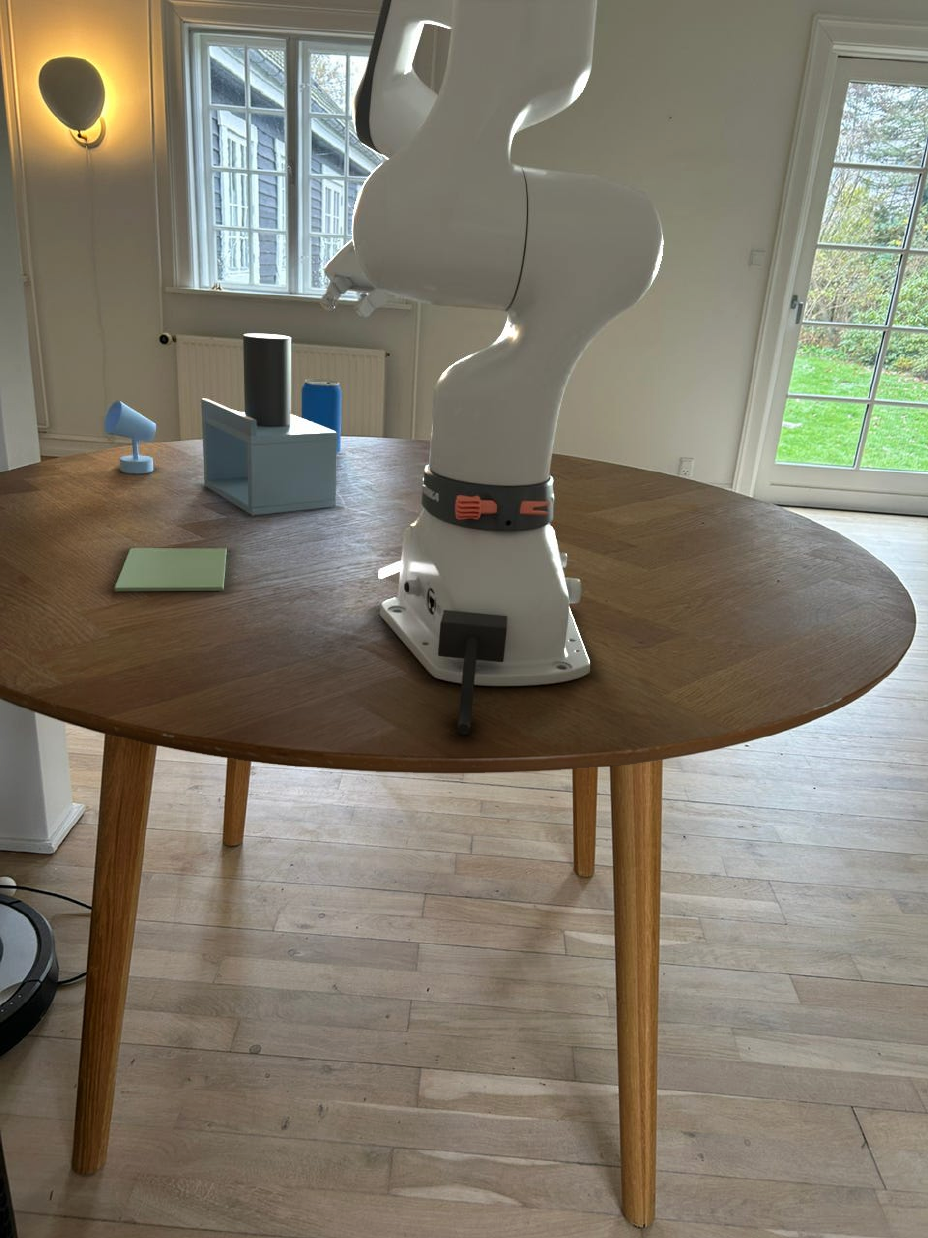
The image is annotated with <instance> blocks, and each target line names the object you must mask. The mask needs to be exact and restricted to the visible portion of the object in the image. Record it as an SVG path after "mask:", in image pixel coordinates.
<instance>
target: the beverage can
mask: <svg viewBox="0 0 928 1238" xmlns="http://www.w3.org/2000/svg"><path fill="white" fill-rule="evenodd" d="M342 391H343V390H342V388H341V387H340V382H339V381H337V380H331V379H323V378H314V379H313V378H308V379H305V380H304V383H303V385H302V387H301V413H300V415H301V417H300V418H302V419H305V420H307V421H310V422H312V423H315V424H317V425H320V426H322V427H325V428H328V429H330V430H333V431H335V432H337V454H339V453H340V452H341V441H342V439H341V438H342V437H341V436H342V435H341V434H342V396H343V395H342V393H343V392H342Z"/></svg>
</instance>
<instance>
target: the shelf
mask: <svg viewBox="0 0 928 1238" xmlns="http://www.w3.org/2000/svg"><path fill="white" fill-rule="evenodd" d="M200 403H201V404H200V405H201V427H202V428H201V429H202V452H203V481H204V482H203V483H204V486H205V488H208V489H209V490H211V491H213V492H214V493H216V494H217V495H219V496H220V497H221V498H223V499H225V500H227V501H228V502H229V503H232V504H233V505H235V506H236V507H238V508H239V509H241V510H243V511H244V512H246V513H247V514H249V515H250V516H253V517H254V516H261V515H271V514H281V513H289V512H297V511H309V510H316V509H325V508H334V507H336V506H337V464H338V463H337V461H338V459H337V457H338V455H337V432H335V431H333V430H330V429H328V428H325V427H322V426H320V425H317V424H315V423H312V422H310V421H307V420H305V419H302V418H301V417H299V416H297V415H295V414H292V413H291V424H290V425H287V426H281V427H264V426H257V423H256V420H255V419H253V418H251V417H248V416H246V415H245V411H237V410H234V409H232V408H230V407H227V406H226V405H223V404H220V403H218V402H216V401H213V400H211V399H209V398H206V397H205V398H204V397H203V398H200Z"/></svg>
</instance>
